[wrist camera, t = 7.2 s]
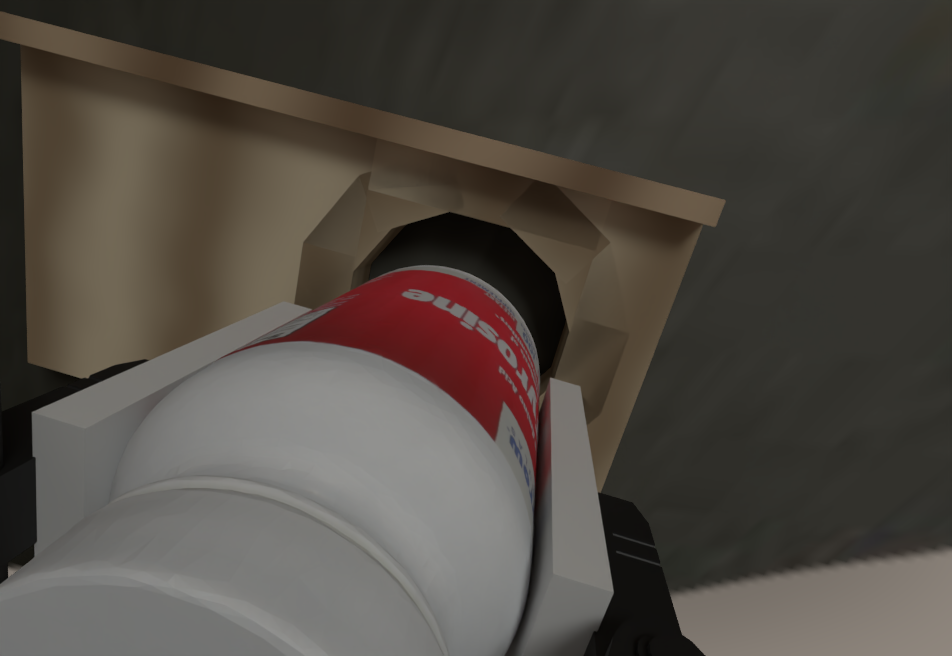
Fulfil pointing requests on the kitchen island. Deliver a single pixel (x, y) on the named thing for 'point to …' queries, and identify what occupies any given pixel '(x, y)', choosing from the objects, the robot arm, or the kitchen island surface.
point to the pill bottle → (315, 494)
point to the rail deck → (304, 214)
